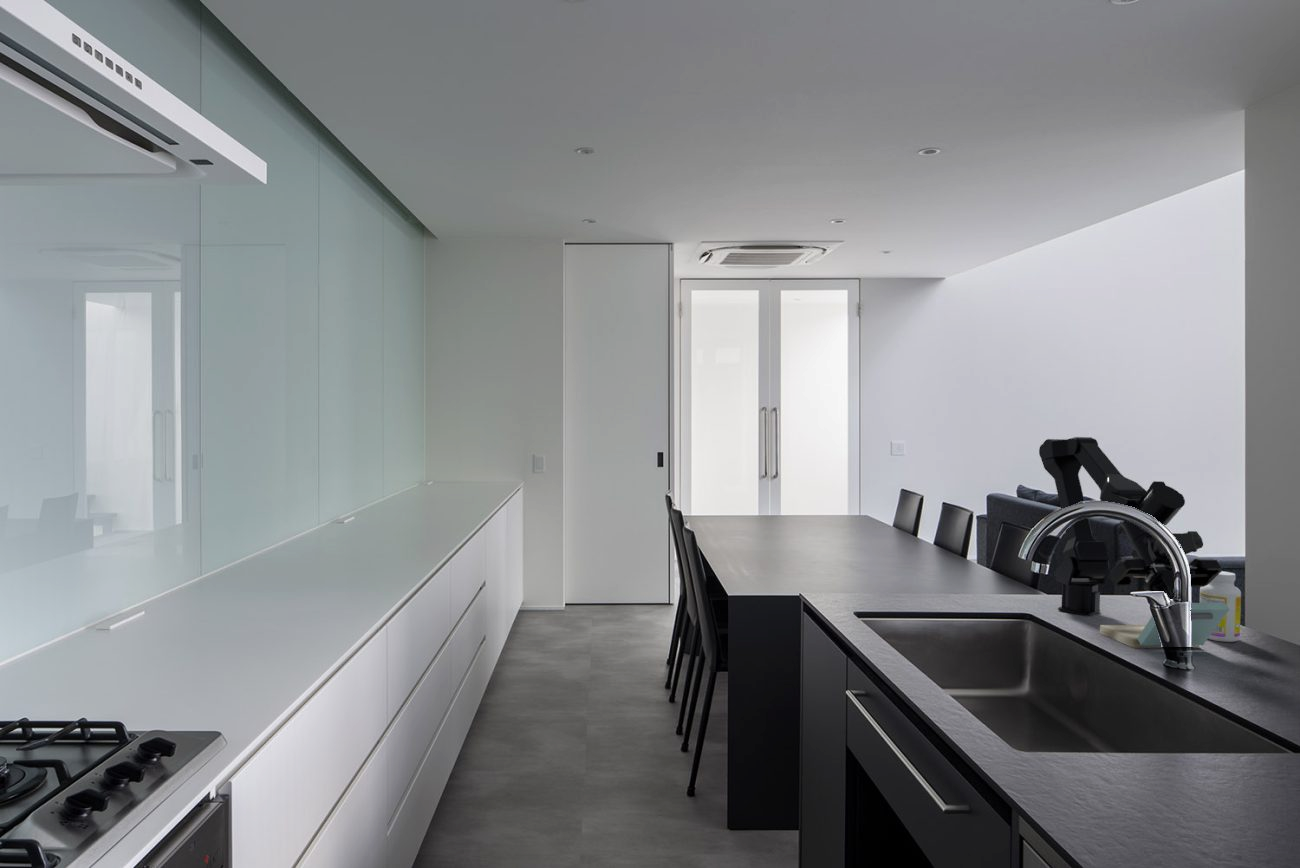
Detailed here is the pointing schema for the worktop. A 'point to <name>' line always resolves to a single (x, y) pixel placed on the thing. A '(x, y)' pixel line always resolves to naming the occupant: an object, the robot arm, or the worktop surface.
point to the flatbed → (1127, 635)
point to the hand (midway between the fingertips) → (1186, 612)
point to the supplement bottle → (1226, 593)
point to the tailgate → (1202, 623)
